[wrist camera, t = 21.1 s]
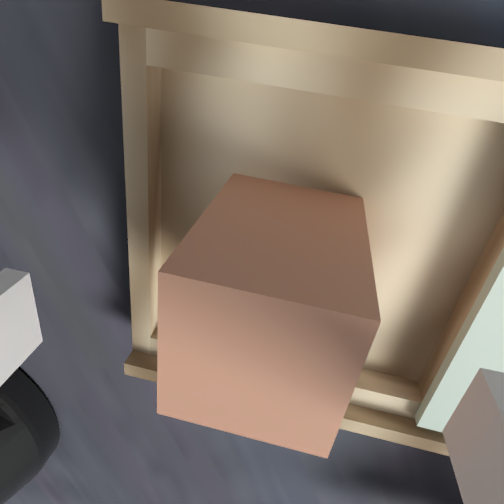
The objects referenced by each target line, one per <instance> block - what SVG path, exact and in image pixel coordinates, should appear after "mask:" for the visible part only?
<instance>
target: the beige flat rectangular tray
mask: <svg viewBox="0 0 504 504" xmlns="http://www.w3.org/2000/svg"><path fill="white" fill-rule="evenodd" d="M102 17H103V21H105V22H112V23H118V29H119V52H120V74H121V97H122V119H123V141H124V164H125V186H126V209H127V231H128V253H129V276H130V298H131V321H132V343H133V351H132V352H131V354H130V355H129V357H128V358H127V360H126V361H125V363H124V371H125V374H126V375H130V376H134V377H138V378H142V379H146V380H150V381H154V382H157V337H158V271H159V269H160V268H161V267H162V265H163V264H164V263H165V262H166V260H167V259H168V258H169V256H170V255H171V254H172V252H173V251H174V250H175V249H176V247H177V246H178V245H179V243H180V242H181V241H182V239H183V238H184V237H185V236H186V234H187V233H188V232H189V230H190V229H191V228H192V226H193V225H194V224H195V223H196V221H197V220H198V219H199V217H200V216H201V215H202V213H203V212H204V211H205V210H206V208H207V207H208V206H209V204H210V203H211V202H212V200H213V199H214V198H215V197H216V195H217V194H218V193H219V191H220V190H221V189H222V187H223V186H224V185H225V184H226V182H227V181H228V180H229V178H230V177H231V176H232V174H233V173H235V174H241V175H246V176H251V177H256V178H261V179H267V180H272V181H277V182H282V183H287V184H292V185H298V186H303V187H308V188H313V189H318V190H323V191H329V192H334V193H339V194H344V195H349V196H354V197H360V198H363V201H364V208H365V215H366V222H367V229H368V236H369V243H370V250H371V256H372V263H373V270H374V277H375V284H376V291H377V298H378V305H379V312H380V319H381V323H380V325H379V328H378V331H377V333H376V336H375V338H374V341H373V343H372V346H371V348H370V351H369V354H368V356H367V359H366V361H365V364H364V366H363V369H362V371H361V374H360V377H359V379H358V382H357V384H356V387H355V389H354V392H353V394H352V397H351V400H350V402H349V405H348V407H347V410H346V412H345V415H344V417H343V420H342V423H341V425H340V429H344V430H347V431H351V432H355V433H359V434H363V435H367V436H371V437H375V438H379V439H383V440H387V441H391V442H395V443H399V444H403V445H407V446H411V447H415V448H419V449H423V450H426V451H430V452H434V453H438V454H442V455H446V456H449V453H448V449H447V446H446V442H445V439H444V436H443V433H442V432H438V431H434V430H430V429H426V428H422V427H418V426H416V421H415V414H416V412H417V410H418V408H419V406H420V404H421V403H422V401H423V399H424V397H425V395H426V393H427V391H428V389H429V387H430V385H431V384H432V382H433V380H434V378H435V376H436V374H437V372H438V370H439V368H440V367H441V365H442V363H443V361H444V359H445V357H446V355H447V353H448V351H449V349H450V348H451V346H452V344H453V342H454V340H455V338H456V336H457V334H458V332H459V330H460V329H461V327H462V325H463V323H464V321H465V319H466V317H467V315H468V313H469V312H470V310H471V308H472V306H473V304H474V302H475V300H476V298H477V296H478V294H479V293H480V291H481V289H482V287H483V285H484V283H485V281H486V279H487V277H488V276H489V274H490V272H491V270H492V268H493V266H494V264H495V262H496V260H497V258H498V257H499V255H500V253H501V251H502V249H503V247H504V48H497V47H490V46H483V45H476V44H469V43H462V42H455V41H448V40H441V39H434V38H427V37H420V36H412V35H405V34H398V33H391V32H384V31H377V30H370V29H363V28H356V27H349V26H342V25H335V24H328V23H321V22H314V21H307V20H300V19H293V18H286V17H279V16H272V15H265V14H258V13H251V12H244V11H237V10H230V9H223V8H216V7H209V6H202V5H195V4H188V3H181V2H174V1H167V0H102Z"/></svg>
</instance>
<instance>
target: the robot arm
mask: <svg viewBox="0 0 504 504" xmlns="http://www.w3.org/2000/svg"><path fill="white" fill-rule="evenodd" d="M42 341H43V340H42V335H41V330H40V325H39V320H38V315H37V310H36V304H35V299H34V294H33V289H32V284H31V279H30V274H29V273H28V272H23V271H18V270H13V269H9V268H5V269H3V270H2V271H1V272H0V504H4V503H5V502H6V501H7V500H8V499H10V498H11V497H12V496H13V495H14V494H15V493H16V492H18V491H19V490H20V489H21V488H22V487H23V486H24V485H25V484H27V483H28V482H29V481H31V480H32V479H33V478H34V477H35V476H36V475H37V474H38V473H39V471H40V470H41V469H42V467H43V466H44V464H45V463H46V461H47V460H48V458H49V457H50V456H51V454H52V453H53V451H54V450H55V448H56V446H57V444H58V441H59V435H60V434H59V425H58V421H57V418H56V416H55V413H54V411H53V409H52V407H51V405H50V404H49V402H48V401H47V399H46V398H45V396H44V395H43V394H42V392H41V391H40V390H39V389H38V388H37V386H36V385H35V384H34V383H33V382H32V381H31V380H30V379H29V378H28V377H27V376H26V375H25V374H24V373H23V372H21V371H20V370H19V369H18V367H19V366H20V365H21V364H22V363H23V362H24V361H25V360H26V359H27V357H28V356H29V355H30V354H31V353H32V352H33V351H34V350H35V349H36V348H37V347H38V346H39V345H40V344H41V343H42ZM442 432H443V436H444V439H445V442H446V446H447V449H448V453H449V456H450V459H451V463H452V466H453V470H454V473H455V477H456V480H457V483H458V487H459V490H460V494H461V497H462V500H463V504H504V373H503V372H498V371H494V370H489V369H484V368H480V369H479V370H478V372H477V374H476V375H475V377H474V379H473V380H472V382H471V384H470V385H469V387H468V389H467V390H466V392H465V394H464V395H463V397H462V399H461V400H460V402H459V404H458V406H457V407H456V409H455V411H454V412H453V414H452V416H451V417H450V419H449V421H448V422H447V424H446V426H445V427H444V429H443V431H442Z"/></svg>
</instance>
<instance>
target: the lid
mask: <svg viewBox="0 0 504 504" xmlns="http://www.w3.org/2000/svg"><path fill="white" fill-rule="evenodd" d="M480 368H484V369H489V370H494V371H498V372H503V373H504V247H503V249H502V251H501V253H500V255H499V257H498V258H497V260H496V262H495V264H494V266H493V268H492V270H491V272H490V274H489V276H488V277H487V279H486V281H485V283H484V285H483V287H482V289H481V291H480V293H479V294H478V296H477V298H476V300H475V302H474V304H473V306H472V308H471V310H470V312H469V313H468V315H467V317H466V319H465V321H464V323H463V325H462V327H461V329H460V330H459V332H458V334H457V336H456V338H455V340H454V342H453V344H452V346H451V348H450V349H449V351H448V353H447V355H446V357H445V359H444V361H443V363H442V365H441V367H440V368H439V370H438V372H437V374H436V376H435V378H434V380H433V382H432V384H431V385H430V387H429V389H428V391H427V393H426V395H425V397H424V399H423V401H422V403H421V404H420V406H419V408H418V410H417V412H416V414H415V421H416V426H418V427H422V428H426V429H430V430H434V431H438V432H442V431H443V429H444V427H445V426H446V424H447V422H448V421H449V419H450V417H451V416H452V414H453V412H454V411H455V409H456V407H457V406H458V404H459V402H460V400H461V399H462V397H463V395H464V394H465V392H466V390H467V389H468V387H469V385H470V384H471V382H472V380H473V379H474V377H475V375H476V374H477V372H478V370H479V369H480ZM442 433H443V432H442Z"/></svg>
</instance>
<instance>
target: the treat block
mask: <svg viewBox="0 0 504 504" xmlns="http://www.w3.org/2000/svg"><path fill="white" fill-rule="evenodd" d="M380 323H381V319H380V312H379V305H378V298H377V291H376V284H375V277H374V270H373V263H372V256H371V250H370V243H369V236H368V229H367V222H366V215H365V208H364V201H363V198H360V197H354V196H349V195H344V194H339V193H334V192H329V191H323V190H318V189H313V188H308V187H303V186H298V185H292V184H287V183H282V182H277V181H272V180H267V179H261V178H256V177H251V176H246V175H241V174H235V173H233V174H232V176H231V177H230V178H229V180H228V181H227V182H226V184H225V185H224V186H223V187H222V189H221V190H220V191H219V193H218V194H217V195H216V197H215V198H214V199H213V200H212V202H211V203H210V204H209V206H208V207H207V208H206V210H205V211H204V212H203V213H202V215H201V216H200V217H199V219H198V220H197V221H196V223H195V224H194V225H193V226H192V228H191V229H190V230H189V232H188V233H187V234H186V236H185V237H184V238H183V239H182V241H181V242H180V243H179V245H178V246H177V247H176V249H175V250H174V251H173V252H172V254H171V255H170V256H169V258H168V259H167V260H166V262H165V263H164V264H163V265H162V267H161V268H160V269H159V271H158V337H157V413H158V414H161V415H165V416H169V417H173V418H176V419H180V420H184V421H188V422H192V423H195V424H199V425H203V426H207V427H210V428H214V429H218V430H222V431H225V432H229V433H233V434H237V435H241V436H244V437H248V438H252V439H256V440H259V441H263V442H267V443H271V444H274V445H278V446H282V447H286V448H290V449H293V450H297V451H301V452H305V453H308V454H312V455H316V456H320V457H323V458H328V456H329V453H330V451H331V448H332V446H333V443H334V440H335V438H336V435H337V433H338V430H339V428H340V425H341V423H342V420H343V417H344V415H345V412H346V410H347V407H348V405H349V402H350V400H351V397H352V394H353V392H354V389H355V387H356V384H357V382H358V379H359V377H360V374H361V371H362V369H363V366H364V364H365V361H366V359H367V356H368V354H369V351H370V348H371V346H372V343H373V341H374V338H375V336H376V333H377V331H378V328H379V325H380Z"/></svg>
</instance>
